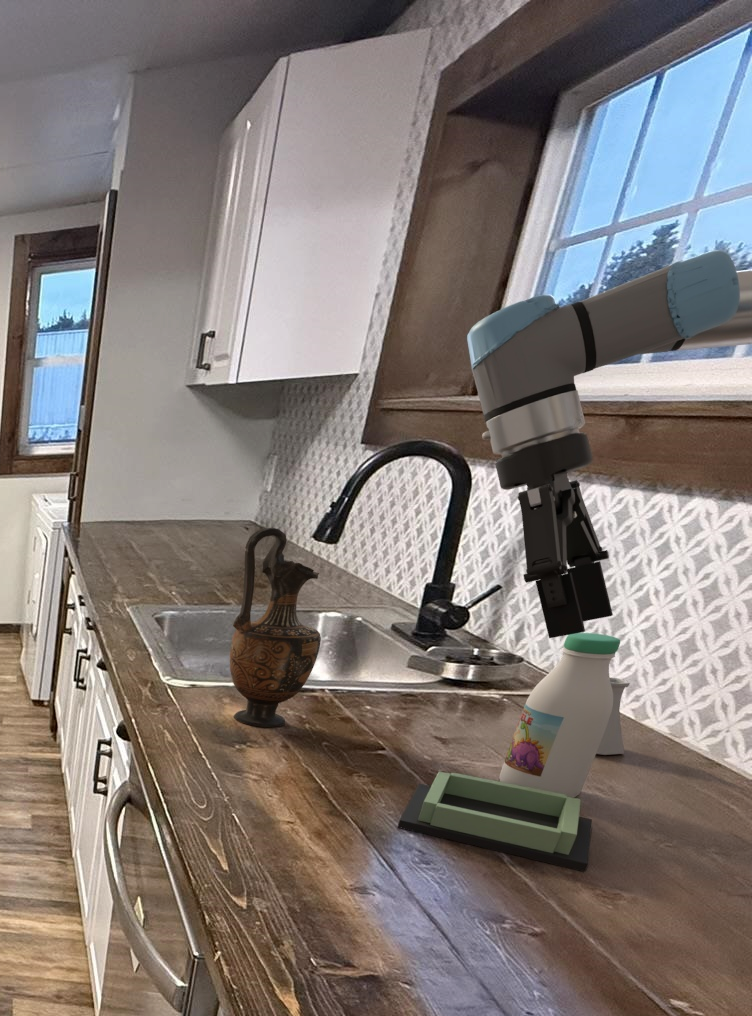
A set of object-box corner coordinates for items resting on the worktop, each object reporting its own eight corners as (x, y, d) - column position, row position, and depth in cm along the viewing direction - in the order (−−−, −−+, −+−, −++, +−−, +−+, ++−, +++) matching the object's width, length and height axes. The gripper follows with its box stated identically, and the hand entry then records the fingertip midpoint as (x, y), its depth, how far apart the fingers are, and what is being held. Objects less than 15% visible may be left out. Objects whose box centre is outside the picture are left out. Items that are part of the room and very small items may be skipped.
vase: (311, 734, 126) (361, 533, 114) (219, 728, 130) (259, 533, 118) (288, 710, 136) (333, 523, 125) (204, 705, 140) (240, 523, 128)
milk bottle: (568, 782, 107) (627, 631, 99) (587, 805, 101) (651, 647, 93) (491, 772, 111) (542, 626, 103) (505, 794, 105) (560, 640, 97)
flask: (572, 755, 115) (599, 687, 111) (539, 737, 121) (563, 672, 118) (636, 758, 113) (665, 688, 109) (599, 739, 120) (625, 673, 116)
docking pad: (589, 826, 96) (600, 799, 95) (584, 872, 87) (597, 842, 86) (416, 790, 107) (424, 765, 105) (397, 827, 98) (405, 800, 96)
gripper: (524, 456, 103) (563, 621, 103) (460, 461, 89) (506, 650, 90) (610, 428, 96) (651, 603, 97) (555, 429, 83) (604, 633, 83)
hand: (582, 626), depth 93 cm, fingers open, 13 cm apart
